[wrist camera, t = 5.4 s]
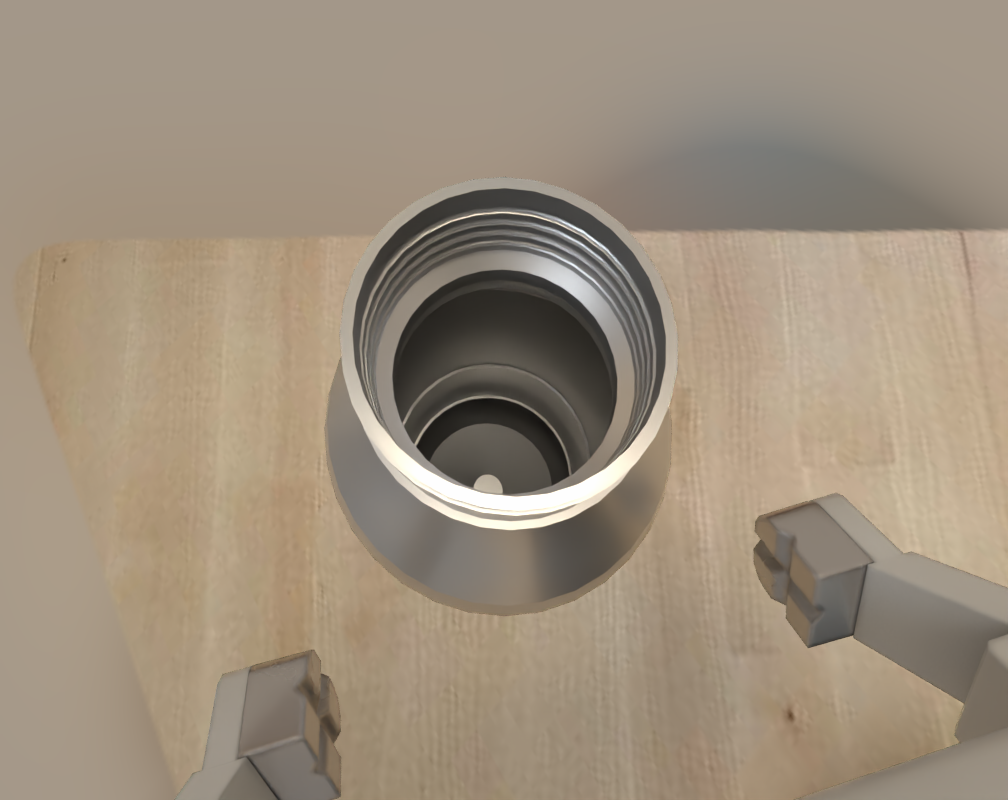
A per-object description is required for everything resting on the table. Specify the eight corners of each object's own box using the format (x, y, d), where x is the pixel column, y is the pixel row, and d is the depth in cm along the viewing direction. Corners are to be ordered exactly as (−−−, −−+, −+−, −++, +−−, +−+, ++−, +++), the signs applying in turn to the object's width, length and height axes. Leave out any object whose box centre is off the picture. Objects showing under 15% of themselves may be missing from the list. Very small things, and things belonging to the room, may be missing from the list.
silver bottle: (527, 385, 27) (642, -16, 8) (595, 536, 26) (939, 509, 7) (383, 445, 27) (110, 166, 7) (446, 604, 25) (327, 801, 6)
